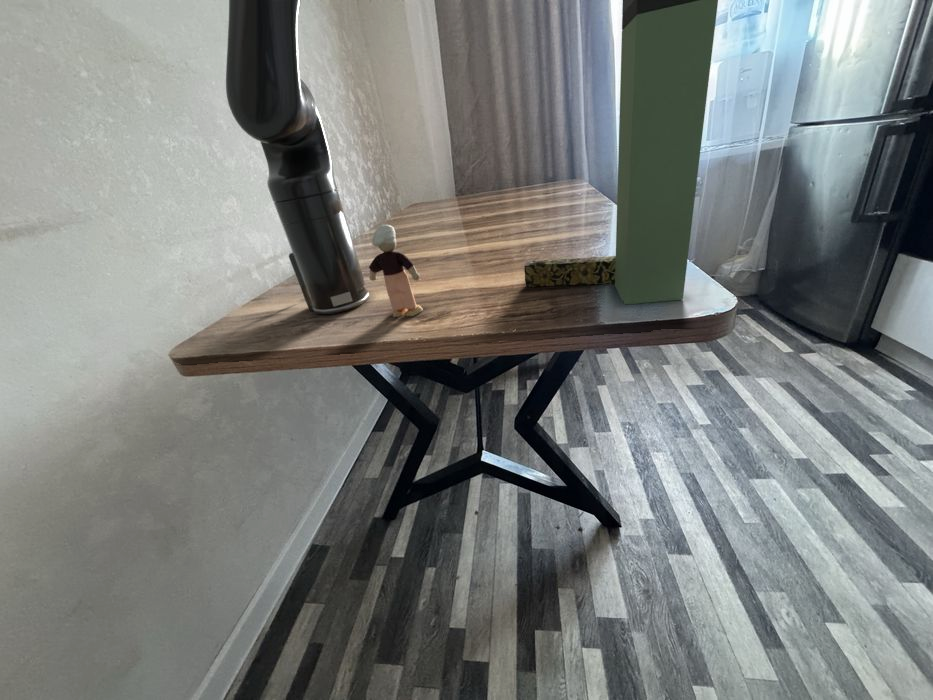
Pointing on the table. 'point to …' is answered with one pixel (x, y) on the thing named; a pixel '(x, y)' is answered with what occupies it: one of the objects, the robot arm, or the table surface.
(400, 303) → the grandmother figurine
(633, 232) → the tall green rectangular column
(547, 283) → the decorative block
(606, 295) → the table surface
